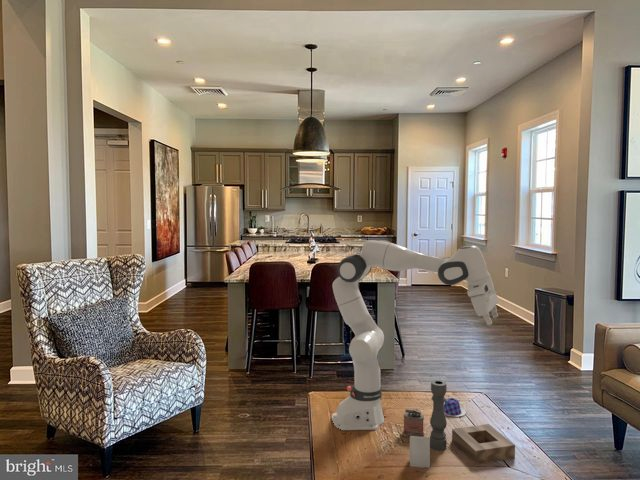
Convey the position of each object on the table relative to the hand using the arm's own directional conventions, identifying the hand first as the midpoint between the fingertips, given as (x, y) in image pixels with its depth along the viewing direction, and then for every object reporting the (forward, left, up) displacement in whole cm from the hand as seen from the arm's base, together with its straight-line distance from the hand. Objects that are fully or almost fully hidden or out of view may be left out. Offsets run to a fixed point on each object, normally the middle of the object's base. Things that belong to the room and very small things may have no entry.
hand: (493, 320), depth 168 cm
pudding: (-1, +27, -48) cm, 55 cm away
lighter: (-26, +13, -48) cm, 56 cm away
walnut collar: (-6, -4, -48) cm, 48 cm away
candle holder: (-21, +2, -48) cm, 52 cm away
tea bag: (-33, -7, -48) cm, 59 cm away
